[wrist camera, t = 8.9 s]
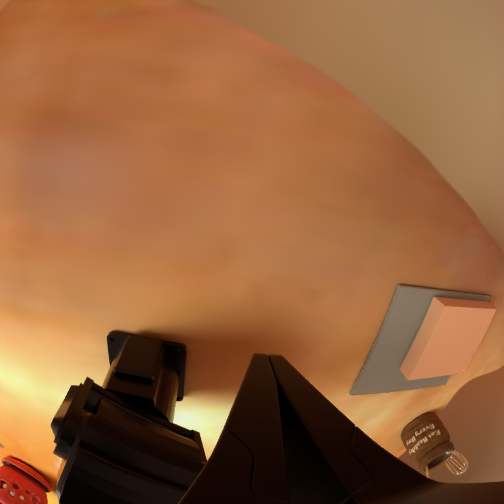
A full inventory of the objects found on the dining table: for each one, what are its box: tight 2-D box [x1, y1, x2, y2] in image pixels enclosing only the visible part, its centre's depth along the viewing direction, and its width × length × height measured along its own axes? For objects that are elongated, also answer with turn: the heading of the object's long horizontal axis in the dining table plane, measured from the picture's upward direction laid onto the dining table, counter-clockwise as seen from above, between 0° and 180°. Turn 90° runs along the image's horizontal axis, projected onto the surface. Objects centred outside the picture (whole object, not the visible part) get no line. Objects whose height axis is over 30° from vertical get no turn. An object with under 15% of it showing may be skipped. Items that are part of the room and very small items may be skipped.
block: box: [400, 297, 496, 380], centre depth 23 cm, size 8×2×9 cm
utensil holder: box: [401, 413, 468, 478], centre depth 25 cm, size 6×6×12 cm
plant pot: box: [0, 457, 51, 504], centre depth 26 cm, size 13×13×12 cm
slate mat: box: [350, 284, 490, 395], centre depth 24 cm, size 12×14×1 cm
